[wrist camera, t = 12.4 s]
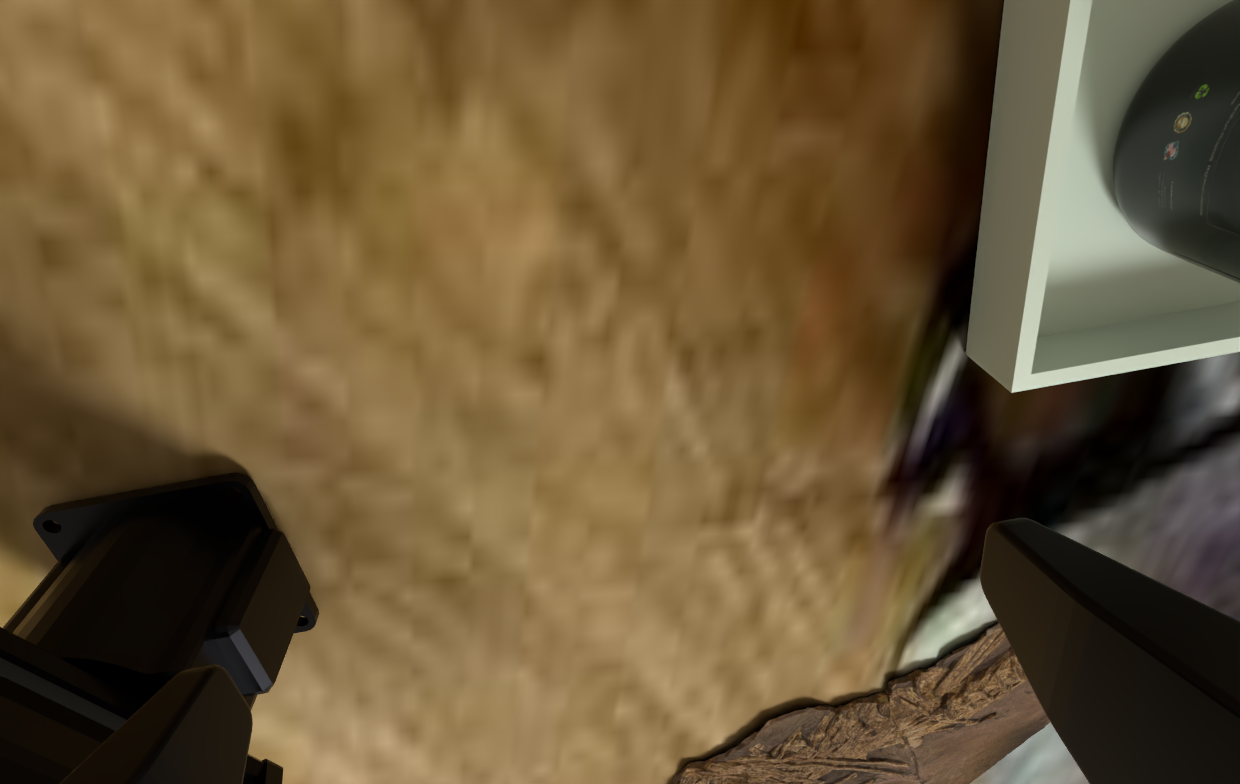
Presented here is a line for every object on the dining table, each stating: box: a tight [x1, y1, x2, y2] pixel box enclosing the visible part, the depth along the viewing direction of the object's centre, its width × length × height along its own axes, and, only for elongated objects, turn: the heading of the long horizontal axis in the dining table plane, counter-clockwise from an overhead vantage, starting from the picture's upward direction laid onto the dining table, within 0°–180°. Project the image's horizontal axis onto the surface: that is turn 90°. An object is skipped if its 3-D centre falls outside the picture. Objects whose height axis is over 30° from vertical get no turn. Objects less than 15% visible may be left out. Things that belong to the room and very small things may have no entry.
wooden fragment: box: [672, 622, 1050, 784], centre depth 33 cm, size 26×11×1 cm, turn 117°
